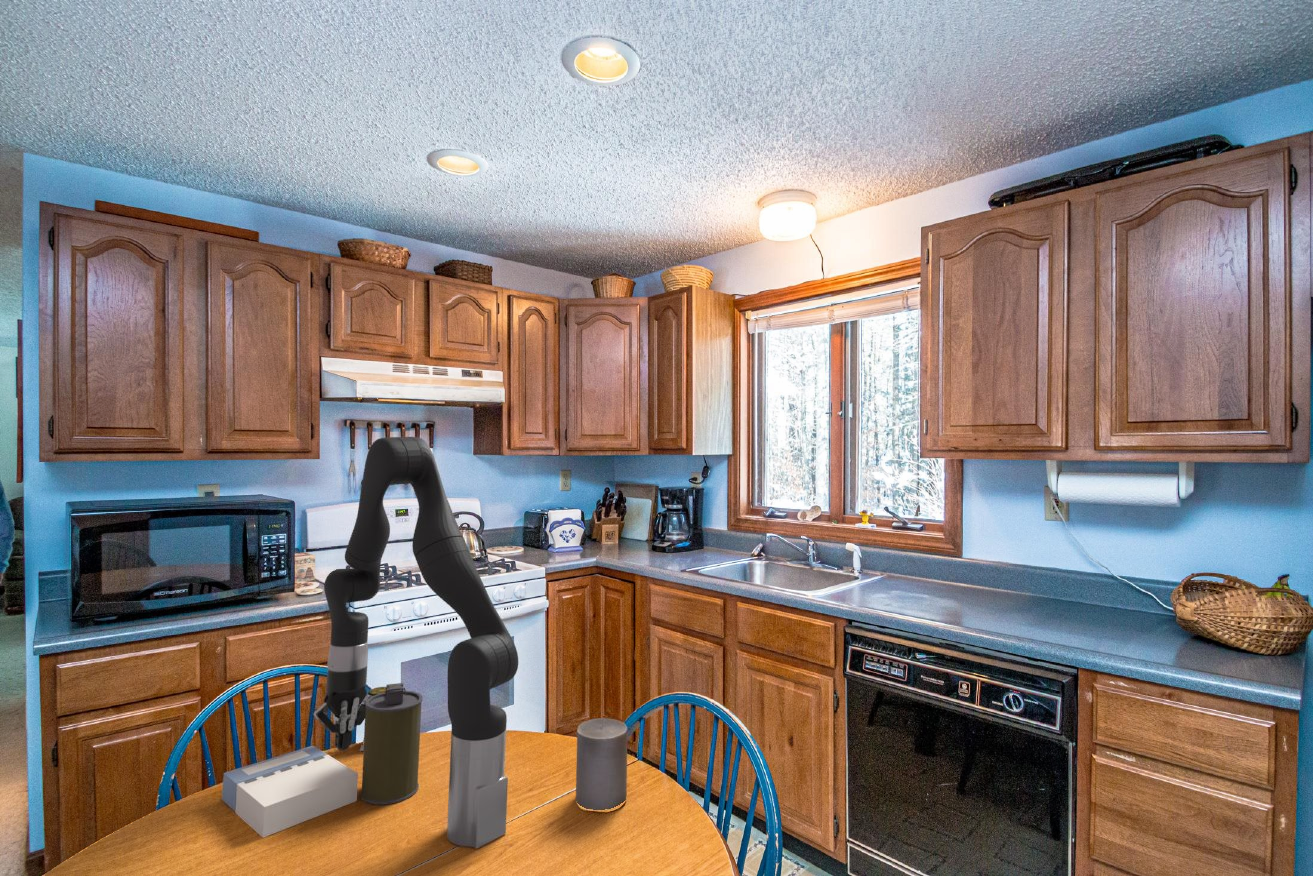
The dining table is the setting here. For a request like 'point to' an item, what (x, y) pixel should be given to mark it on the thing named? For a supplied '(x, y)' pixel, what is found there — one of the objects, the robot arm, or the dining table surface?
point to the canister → (391, 746)
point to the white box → (295, 794)
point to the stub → (264, 770)
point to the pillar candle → (601, 764)
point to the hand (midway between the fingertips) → (342, 749)
